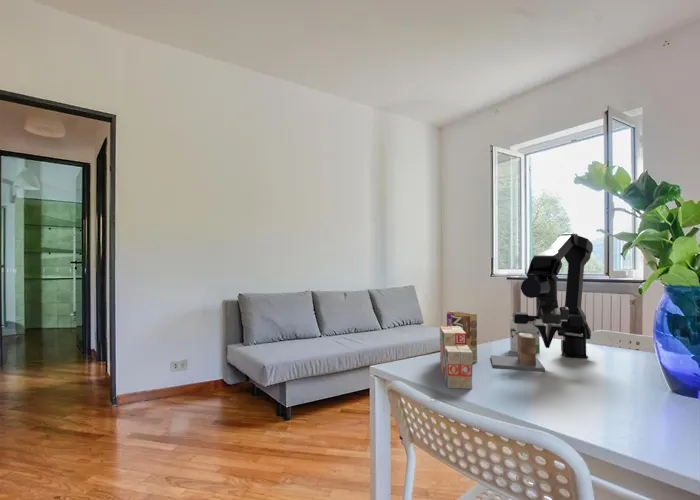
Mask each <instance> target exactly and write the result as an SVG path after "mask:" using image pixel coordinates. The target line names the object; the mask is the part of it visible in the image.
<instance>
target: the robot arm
mask: <svg viewBox="0 0 700 500" xmlns="http://www.w3.org/2000/svg"><path fill="white" fill-rule="evenodd" d="M593 249H594V246H593V243H592V241H591V240H589V239H588V238H587V237H583V236H580V235H578V234H577V233H576V232H565V233H560V234H558V236H557V239H556V240H555V241H554V242H553V243H552V244H551V245H550V246H549V247H548V249H546V250H544V251H540V252H537V253H536V254H534V255H533V257H532V259H530V264H529V267H528V269H527V272H526V279H523V281H522V283H521V285H520V290H521V293H522V294H523V295H524V296H525V297H527V298H528V299H534V298H535V307H536V308H535V311H536V313H535V315H531V314H528V313H527V312H520V311H514V312H513V313H512V318H513V322H514V323H516V324H527V323H528V322H529V321H533V323H532V324H533V325H534V326H535V327H537V328H538V330H539V335H541V339H542V341H543V345H544V347H545V348H546V349H550V347H551V344H552V341H553V338H554V336H555V334H556V332H557V336H559V337H562V339H561V340H560V351H561V353H562V354H563V355H564V356H565V357H569V358H571V357H572V358H584V359H588V358H589V356H588V355H587V340H591V338H592V331H591V328H590V326H589V324H588V322H587V316H586V314H585V312H584V311H583V309H582V302H583V301H582V298H583V297H582V296H583V287H584V286H583V285H584V272H585V271H584V270H585V265H586V264H587V263H589V260H590V259H591V255H592V252H593ZM562 259H565V260H566V261H565V262H567V273H566V274H567V275H566V287H565V299H564V300H565V301H564V306H560V307H559V303H558V281H559V277H558V275H559V273H560V271H561V269H562V267H563V262H562ZM545 324H546V325H547V326H546V325H545Z"/></svg>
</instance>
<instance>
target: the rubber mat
mask: <svg viewBox="0 0 700 500" xmlns="http://www.w3.org/2000/svg"><path fill="white" fill-rule="evenodd" d="M490 360H491V365H492V368H496V369H508V370H509V369H510V370H521V371H522V370H523V371H536V372H545V371H546V368H545V366H544V365H543V363H541V361H540V359H539V357H536V366H533V365H521V363H520V361H519V360H518V356H509V355H508V356H507V355H495V354H493V355H492V354H491V355H490Z"/></svg>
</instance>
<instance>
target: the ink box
mask: <svg viewBox="0 0 700 500" xmlns="http://www.w3.org/2000/svg"><path fill="white" fill-rule="evenodd" d="M532 323H533V321H529V322H528V323H527V324H516V323H514V322H513V317H509V337H510V339H509V342H510V347H509V348H510V351H512V352H515V353H517V354H518V333H525V334H532V335H533V336H534V337H535V339H536V353H539V352H541V351H540V347H541V346H540V344H541V343H540V332H539V330H538V328H537V327H535V326H534V325H533V324H532Z"/></svg>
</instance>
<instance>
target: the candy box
mask: <svg viewBox="0 0 700 500" xmlns="http://www.w3.org/2000/svg"><path fill="white" fill-rule="evenodd" d="M477 317H478V314H477V313H473V312H464V311H458V310H457V311H456V310H455V311H454V310H450V311H447V312H446V326H460V327H461V328H462V329H463V330H464V332H466V336H467V346H468V347H469V348H470V350H471V351H472V353H473V364H475V363H477V362H478V318H477Z"/></svg>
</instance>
